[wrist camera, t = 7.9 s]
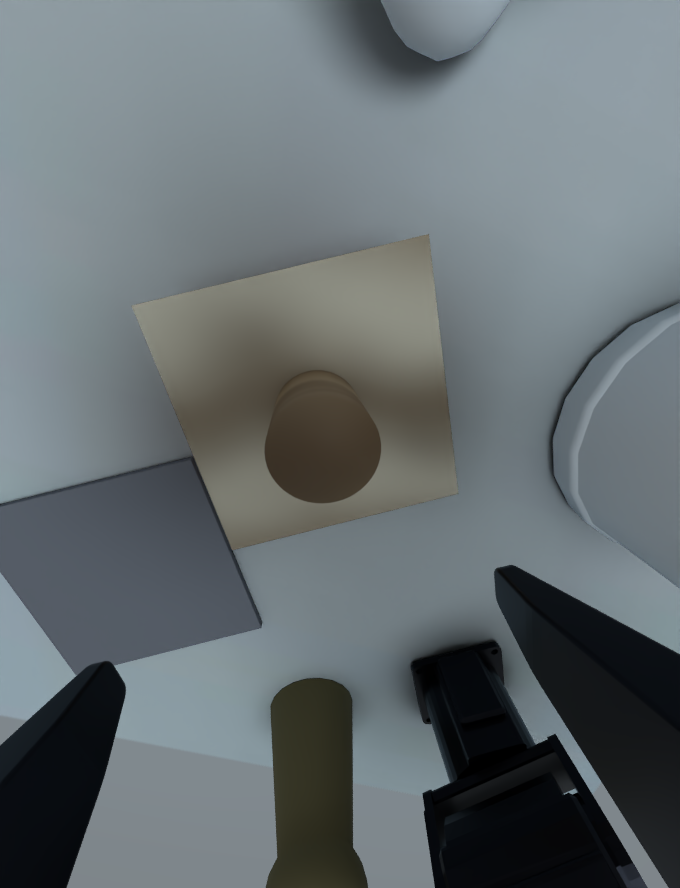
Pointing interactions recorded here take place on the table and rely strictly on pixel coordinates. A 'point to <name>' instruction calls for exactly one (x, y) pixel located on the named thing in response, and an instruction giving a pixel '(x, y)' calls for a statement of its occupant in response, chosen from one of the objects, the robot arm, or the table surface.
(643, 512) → the bottle
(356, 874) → the olive pestle
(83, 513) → the mat
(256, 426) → the lid
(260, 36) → the table surface
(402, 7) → the white decorative knot
